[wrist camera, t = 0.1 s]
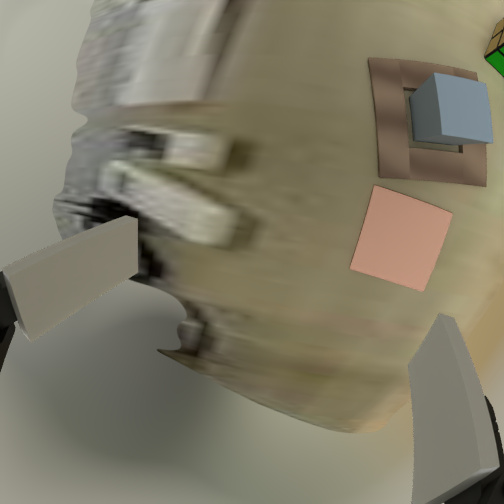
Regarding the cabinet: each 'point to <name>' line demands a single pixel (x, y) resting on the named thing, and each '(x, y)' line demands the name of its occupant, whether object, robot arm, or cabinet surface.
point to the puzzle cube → (497, 48)
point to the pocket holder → (396, 130)
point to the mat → (400, 238)
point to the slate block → (451, 111)
